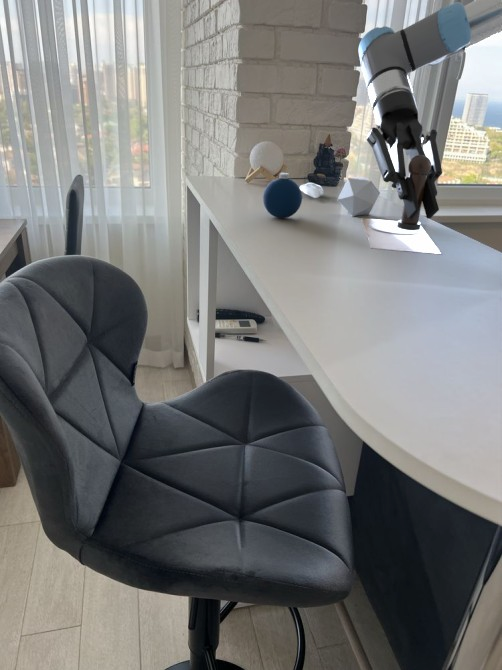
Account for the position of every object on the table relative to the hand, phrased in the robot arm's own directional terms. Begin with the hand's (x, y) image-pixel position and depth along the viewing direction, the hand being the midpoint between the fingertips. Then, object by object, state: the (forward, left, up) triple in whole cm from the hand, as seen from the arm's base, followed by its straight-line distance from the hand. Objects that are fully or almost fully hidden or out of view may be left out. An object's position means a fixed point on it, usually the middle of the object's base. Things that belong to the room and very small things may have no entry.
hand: (423, 213), depth 87 cm
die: (+9, -31, -8) cm, 33 cm away
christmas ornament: (+26, -21, -8) cm, 34 cm away
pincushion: (+20, -49, -8) cm, 53 cm away
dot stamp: (+1, -4, -3) cm, 5 cm away
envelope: (+2, -13, -7) cm, 15 cm away
